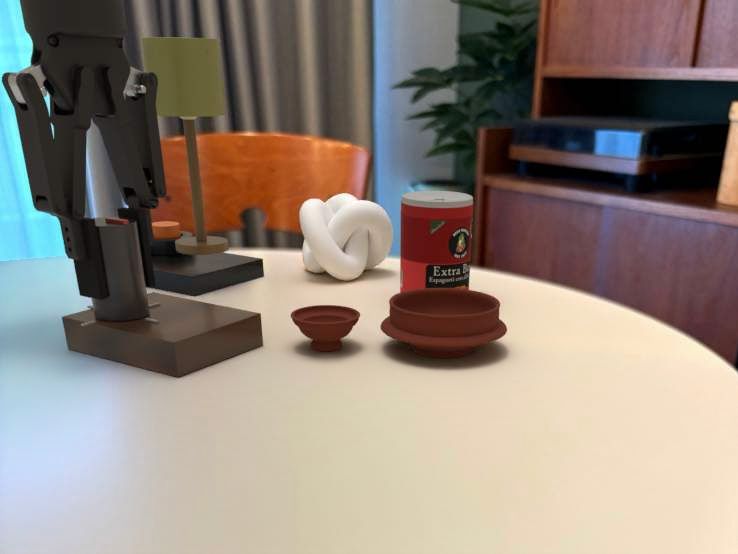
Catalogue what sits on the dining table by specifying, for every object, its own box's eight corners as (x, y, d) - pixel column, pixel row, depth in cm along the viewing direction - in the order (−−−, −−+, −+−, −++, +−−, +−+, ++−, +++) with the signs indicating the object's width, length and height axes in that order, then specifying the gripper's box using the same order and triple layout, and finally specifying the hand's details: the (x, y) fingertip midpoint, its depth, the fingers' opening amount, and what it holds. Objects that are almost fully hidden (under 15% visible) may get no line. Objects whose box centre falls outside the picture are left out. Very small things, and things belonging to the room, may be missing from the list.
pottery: (511, 369, 73) (515, 319, 70) (284, 366, 73) (281, 316, 70) (499, 331, 83) (502, 286, 80) (300, 328, 83) (297, 283, 80)
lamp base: (96, 278, 100) (90, 243, 98) (170, 260, 109) (166, 228, 107) (194, 297, 93) (190, 260, 91) (265, 276, 102) (263, 242, 100)
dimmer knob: (83, 316, 75) (65, 218, 70) (124, 304, 78) (109, 211, 74) (120, 324, 72) (103, 224, 68) (160, 312, 76) (147, 216, 72)
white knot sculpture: (361, 290, 96) (359, 208, 92) (273, 279, 101) (268, 200, 96) (401, 271, 105) (402, 196, 101) (319, 262, 110) (317, 189, 105)
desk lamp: (152, 251, 95) (123, 37, 84) (201, 240, 101) (180, 39, 90) (203, 259, 91) (180, 37, 81) (251, 248, 97) (235, 39, 86)
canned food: (431, 313, 88) (434, 203, 83) (385, 298, 93) (385, 193, 88) (483, 302, 92) (489, 197, 87) (436, 288, 98) (439, 188, 92)
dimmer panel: (55, 350, 75) (47, 316, 74) (153, 321, 84) (149, 289, 83) (169, 380, 69) (164, 343, 67) (263, 345, 78) (260, 311, 76)
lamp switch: (145, 239, 103) (143, 224, 102) (166, 234, 106) (164, 220, 105) (166, 242, 101) (164, 227, 101) (187, 237, 104) (185, 223, 103)
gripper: (-7, -36, 54) (63, 319, 66) (190, -16, 67) (218, 277, 79) (-74, -32, 57) (4, 305, 69) (125, -13, 71) (162, 267, 82)
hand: (118, 289), depth 74 cm, fingers closed on dimmer knob, 5 cm apart
